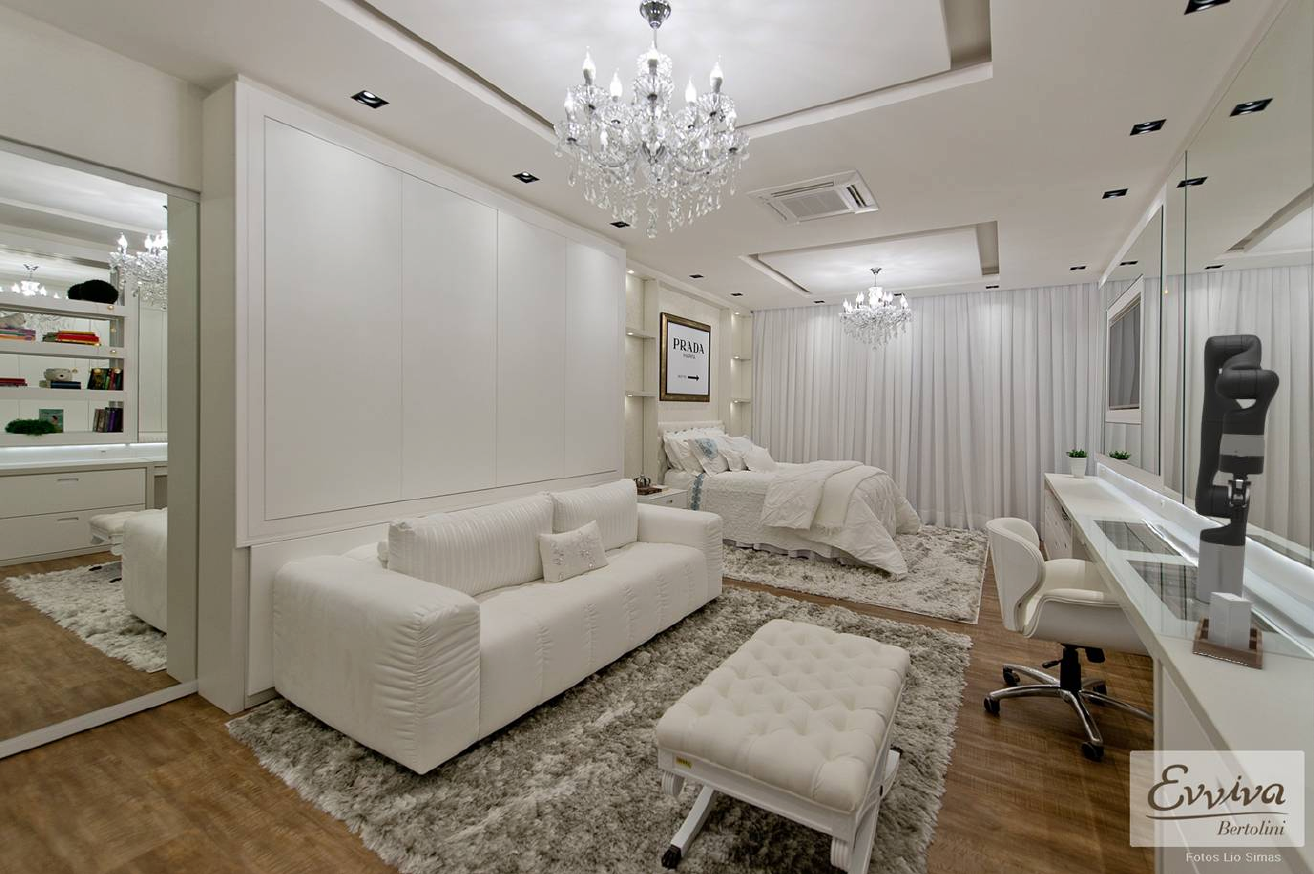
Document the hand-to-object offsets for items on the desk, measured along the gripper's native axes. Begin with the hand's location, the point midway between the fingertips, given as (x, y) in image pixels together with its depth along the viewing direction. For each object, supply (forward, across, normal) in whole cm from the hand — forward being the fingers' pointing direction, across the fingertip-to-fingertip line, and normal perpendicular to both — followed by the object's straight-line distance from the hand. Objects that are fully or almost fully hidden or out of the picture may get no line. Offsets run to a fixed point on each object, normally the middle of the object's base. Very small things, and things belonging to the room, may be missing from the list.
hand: (1237, 520), depth 138 cm
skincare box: (+27, +16, 0) cm, 32 cm away
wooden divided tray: (+28, +12, 0) cm, 30 cm away
